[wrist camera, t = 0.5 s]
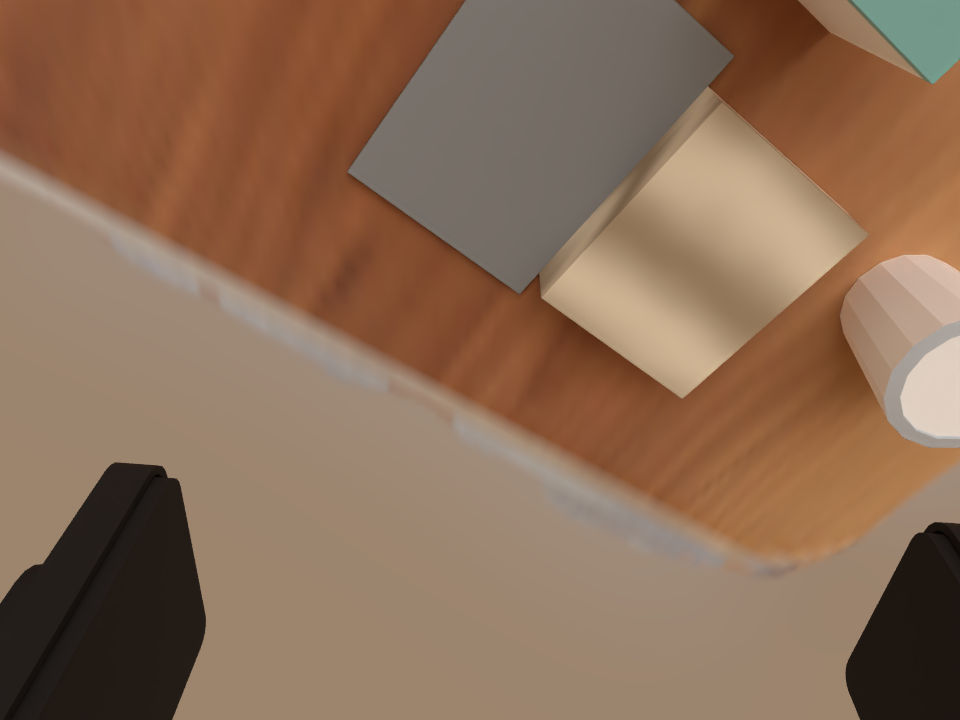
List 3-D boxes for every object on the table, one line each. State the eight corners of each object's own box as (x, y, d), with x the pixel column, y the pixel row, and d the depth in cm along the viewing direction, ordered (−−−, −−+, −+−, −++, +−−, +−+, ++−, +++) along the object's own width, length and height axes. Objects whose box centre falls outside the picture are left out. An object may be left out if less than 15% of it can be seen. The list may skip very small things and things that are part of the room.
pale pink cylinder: (828, 256, 36) (890, 330, 31) (982, 229, 36) (1076, 301, 30) (824, 373, 40) (879, 460, 34) (964, 352, 39) (1045, 438, 33)
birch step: (705, 84, 32) (722, 102, 30) (843, 208, 35) (869, 234, 33) (538, 268, 37) (541, 297, 35) (671, 365, 40) (682, 398, 38)
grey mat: (547, -119, 29) (547, -119, 28) (732, 54, 32) (734, 56, 31) (348, 169, 35) (347, 171, 35) (519, 290, 38) (519, 294, 38)
